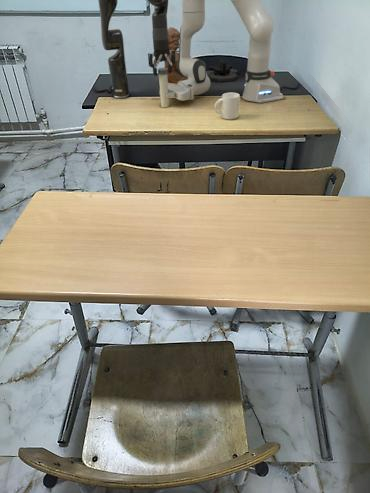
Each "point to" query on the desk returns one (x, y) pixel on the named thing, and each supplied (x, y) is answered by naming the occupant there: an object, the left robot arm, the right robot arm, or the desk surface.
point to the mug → (229, 105)
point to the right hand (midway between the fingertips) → (162, 94)
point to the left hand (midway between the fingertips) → (162, 74)
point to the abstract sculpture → (222, 72)
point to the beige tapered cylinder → (163, 89)
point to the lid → (162, 70)
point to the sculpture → (173, 45)
